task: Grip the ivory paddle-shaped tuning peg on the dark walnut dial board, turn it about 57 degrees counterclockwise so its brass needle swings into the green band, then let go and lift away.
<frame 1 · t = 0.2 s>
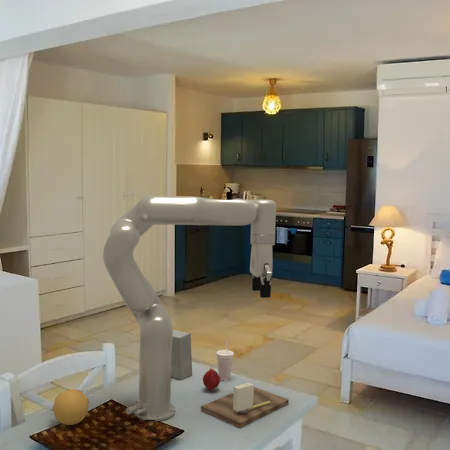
hand: (261, 293, 171), 36 cm above the table, tool pointing down, fingers open, 9 cm apart
dial board: (245, 407, 173), on the table
onion: (211, 390, 186), on the table
smoothie: (224, 379, 197), on the table
skincare box: (177, 375, 199), on the table
stress ball: (71, 424, 159), on the table
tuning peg: (253, 395, 168), point 6 cm above the table, hinge at 0.0°
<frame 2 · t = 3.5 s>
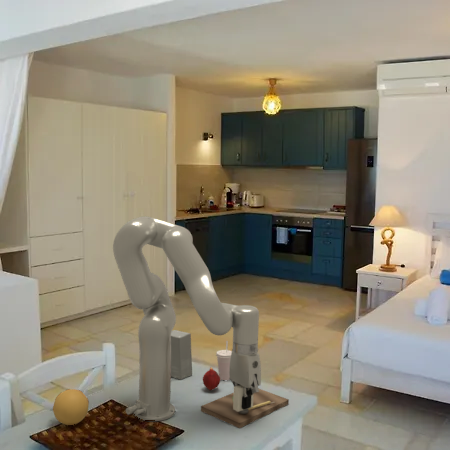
hand: (243, 405, 166), 4 cm above the table, tool pointing down, fingers closed on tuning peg, 2 cm apart
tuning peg: (253, 395, 168), point 6 cm above the table, hinge at 0.0°, touching gripper
everything else where it was.
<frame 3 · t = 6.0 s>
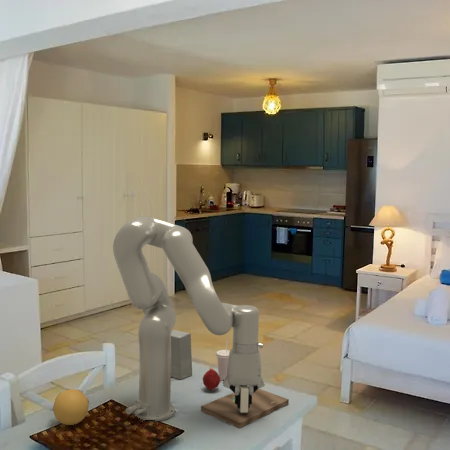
hand: (243, 405, 166), 4 cm above the table, tool pointing down, fingers closed on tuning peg, 2 cm apart
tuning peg: (242, 393, 169), point 6 cm above the table, hinge at 56.8°, touching gripper
everything else where it was.
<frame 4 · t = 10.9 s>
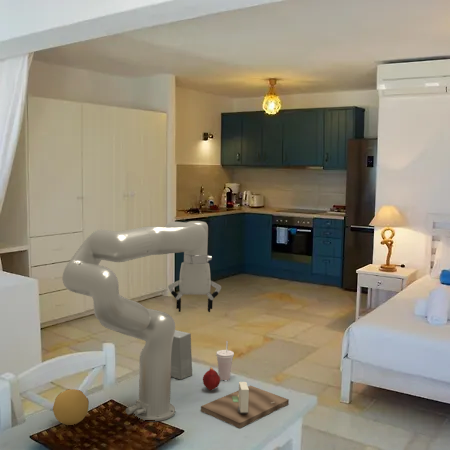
hand: (194, 311, 179), 28 cm above the table, tool pointing down, fingers open, 9 cm apart
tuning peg: (241, 393, 169), point 6 cm above the table, hinge at 57.6°
everything else where it was.
at the end: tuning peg at +58° (first picture: +0°); the gripper is holding nothing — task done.
